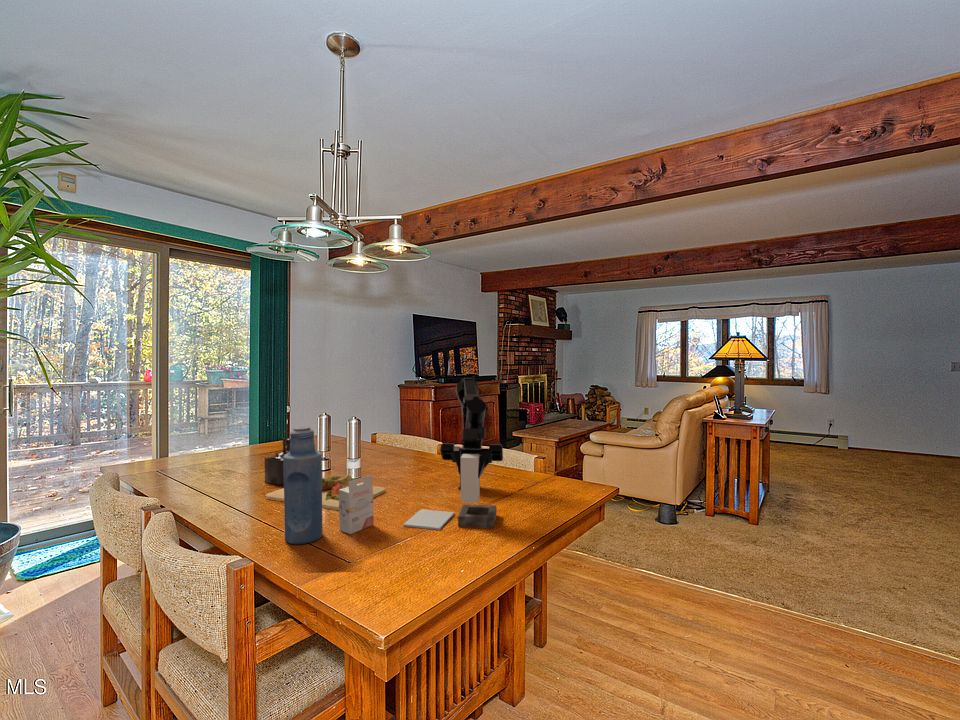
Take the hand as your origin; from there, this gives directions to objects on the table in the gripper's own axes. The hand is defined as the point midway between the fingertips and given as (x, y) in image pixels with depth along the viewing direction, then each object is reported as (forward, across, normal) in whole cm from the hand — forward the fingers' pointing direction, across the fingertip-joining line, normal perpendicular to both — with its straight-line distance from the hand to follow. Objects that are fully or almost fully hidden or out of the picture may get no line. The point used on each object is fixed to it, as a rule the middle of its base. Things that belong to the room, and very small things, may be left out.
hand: (469, 477), depth 136 cm
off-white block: (+4, 0, +6) cm, 7 cm away
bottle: (+20, -43, -1) cm, 48 cm away
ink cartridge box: (+15, -32, +5) cm, 35 cm away
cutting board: (-5, -53, +26) cm, 59 cm away
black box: (-15, -75, +35) cm, 84 cm away
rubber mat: (+9, -12, +10) cm, 18 cm away
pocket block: (+8, +2, +10) cm, 14 cm away
